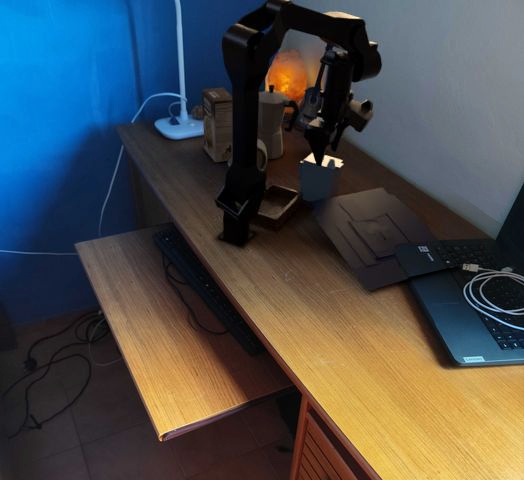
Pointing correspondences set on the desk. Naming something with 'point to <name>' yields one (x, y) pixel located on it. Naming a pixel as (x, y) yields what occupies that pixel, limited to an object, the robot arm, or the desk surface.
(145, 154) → the desk surface
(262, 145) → the ceramic mug
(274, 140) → the coffeepot
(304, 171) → the tabbed grey block
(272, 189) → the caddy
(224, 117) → the coffee box
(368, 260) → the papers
